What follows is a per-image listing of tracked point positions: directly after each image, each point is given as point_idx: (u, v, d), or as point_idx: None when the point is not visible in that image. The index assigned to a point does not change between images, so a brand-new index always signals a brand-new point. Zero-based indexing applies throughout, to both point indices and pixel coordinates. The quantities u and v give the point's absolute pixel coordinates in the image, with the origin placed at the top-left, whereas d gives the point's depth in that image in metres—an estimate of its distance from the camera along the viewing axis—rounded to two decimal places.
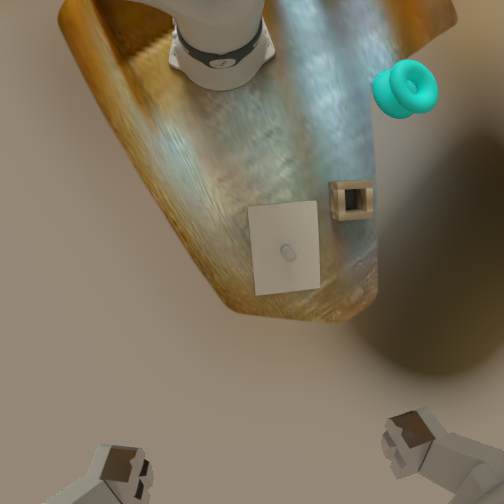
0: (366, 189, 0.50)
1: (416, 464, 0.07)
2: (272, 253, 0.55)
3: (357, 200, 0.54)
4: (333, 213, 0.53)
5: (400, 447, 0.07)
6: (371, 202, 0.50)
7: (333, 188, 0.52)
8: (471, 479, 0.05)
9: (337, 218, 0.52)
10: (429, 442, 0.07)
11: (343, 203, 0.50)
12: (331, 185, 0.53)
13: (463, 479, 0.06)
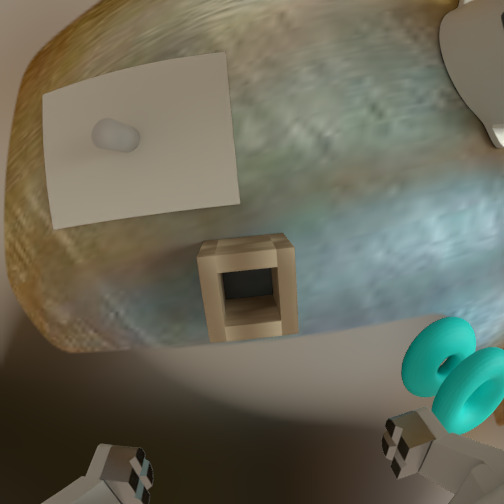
0: (278, 321, 0.22)
1: (416, 464, 0.07)
2: (120, 111, 0.21)
3: (244, 301, 0.26)
4: (213, 245, 0.23)
5: (400, 447, 0.07)
6: (247, 335, 0.22)
7: (273, 241, 0.23)
8: (471, 479, 0.05)
9: (202, 253, 0.21)
10: (429, 442, 0.07)
11: (243, 265, 0.21)
12: (278, 238, 0.24)
13: (463, 480, 0.06)
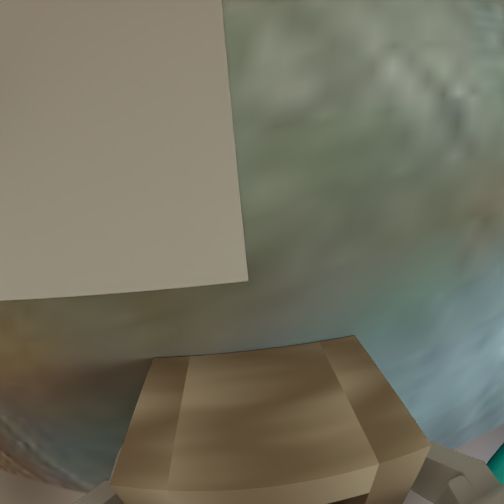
0: None
1: None
2: None
3: None
4: (170, 401, 0.07)
5: None
6: None
7: (351, 395, 0.07)
8: (448, 491, 0.05)
9: (132, 456, 0.05)
10: None
11: None
12: (355, 369, 0.08)
13: (442, 490, 0.06)
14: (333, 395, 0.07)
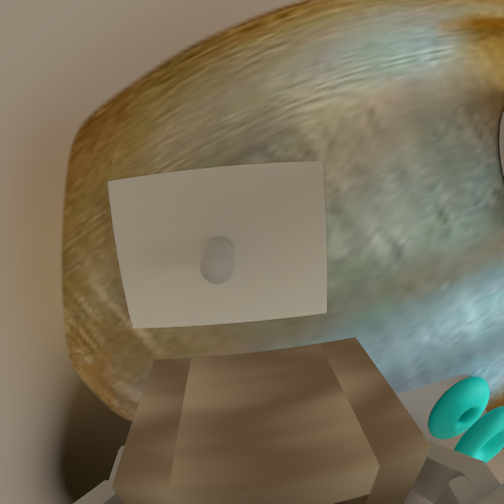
0: None
1: None
2: (210, 217, 0.22)
3: None
4: (172, 403, 0.07)
5: None
6: None
7: (351, 397, 0.07)
8: (448, 491, 0.05)
9: (134, 458, 0.05)
10: None
11: None
12: (356, 371, 0.08)
13: (442, 490, 0.06)
14: (334, 397, 0.07)
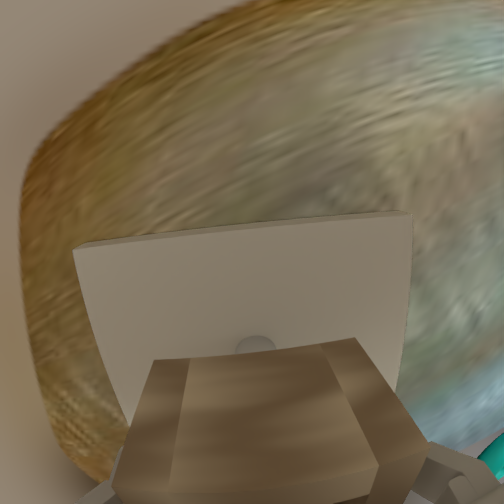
0: None
1: None
2: (240, 309, 0.14)
3: None
4: (171, 402, 0.07)
5: None
6: None
7: (351, 397, 0.07)
8: (448, 491, 0.05)
9: (132, 457, 0.05)
10: None
11: None
12: (355, 370, 0.08)
13: (442, 490, 0.06)
14: (333, 397, 0.07)
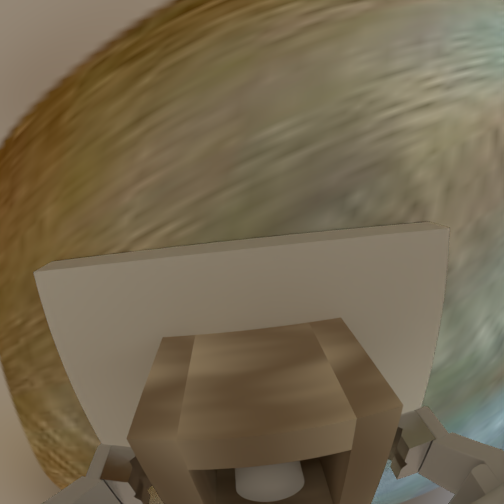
0: None
1: (416, 464, 0.07)
2: None
3: None
4: (179, 370, 0.09)
5: (400, 447, 0.07)
6: None
7: (334, 364, 0.08)
8: (471, 479, 0.05)
9: (146, 414, 0.07)
10: (429, 442, 0.07)
11: (260, 458, 0.06)
12: (339, 344, 0.09)
13: (463, 480, 0.06)
14: (319, 364, 0.08)
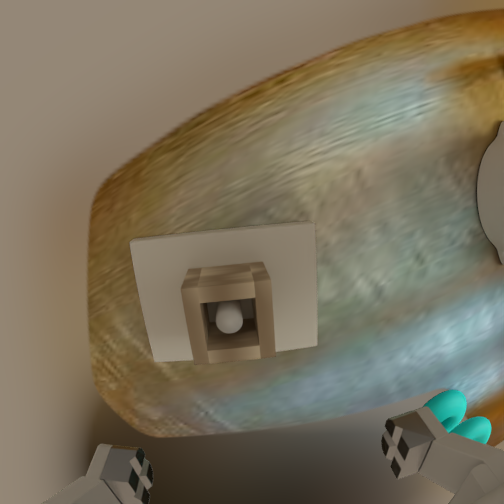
0: (257, 346, 0.23)
1: (416, 464, 0.07)
2: None
3: None
4: (196, 275, 0.24)
5: (400, 447, 0.07)
6: (228, 358, 0.23)
7: (252, 272, 0.24)
8: (471, 479, 0.05)
9: (186, 284, 0.23)
10: (429, 442, 0.07)
11: (223, 296, 0.22)
12: (257, 267, 0.25)
13: (463, 480, 0.06)
14: (247, 272, 0.24)
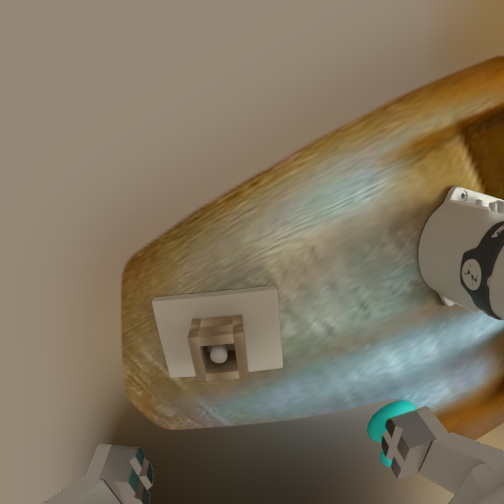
0: (236, 371, 0.36)
1: (416, 464, 0.07)
2: None
3: None
4: (197, 326, 0.37)
5: (400, 447, 0.07)
6: (219, 378, 0.36)
7: (233, 325, 0.37)
8: (471, 479, 0.05)
9: (190, 334, 0.35)
10: (429, 442, 0.07)
11: (214, 342, 0.35)
12: (237, 320, 0.38)
13: (463, 480, 0.06)
14: (230, 324, 0.37)
